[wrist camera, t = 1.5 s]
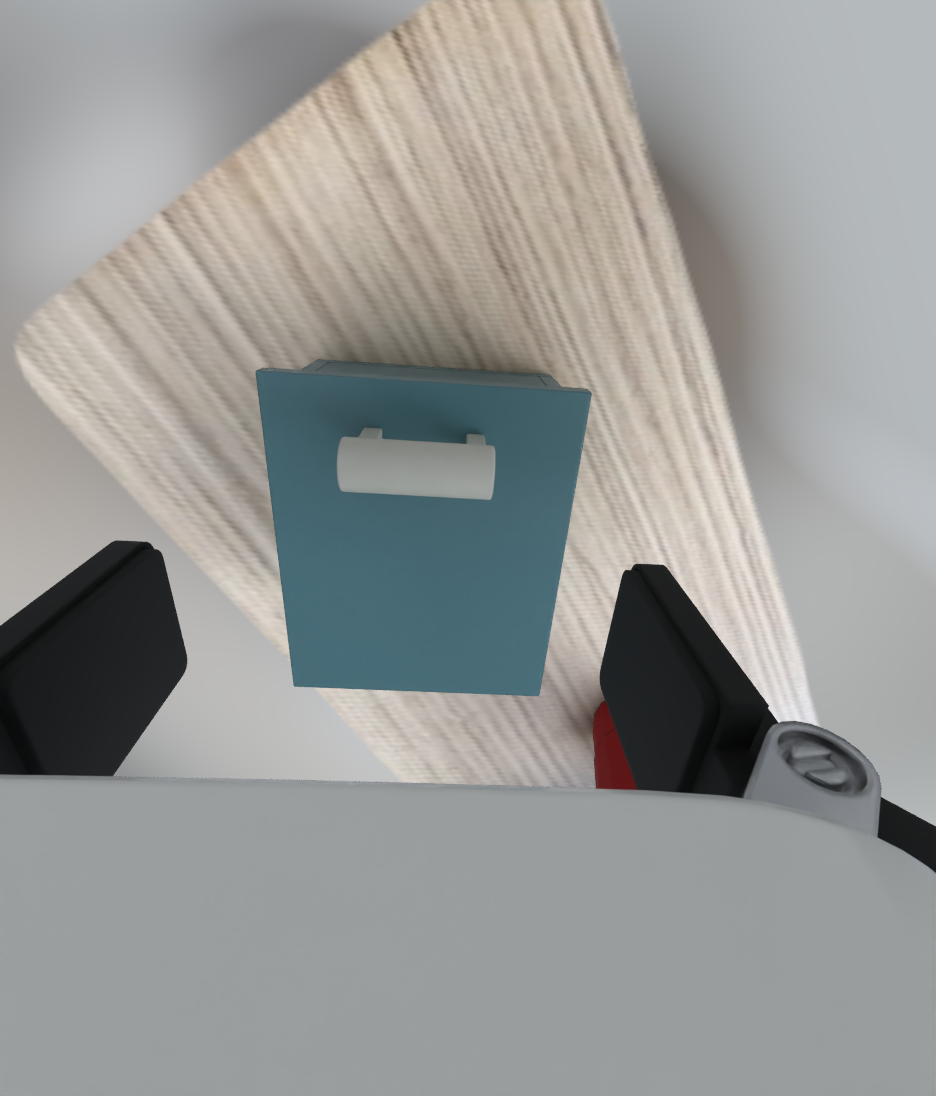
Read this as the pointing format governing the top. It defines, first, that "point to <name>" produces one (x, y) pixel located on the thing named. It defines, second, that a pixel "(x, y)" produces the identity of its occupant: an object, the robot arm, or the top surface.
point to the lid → (419, 526)
